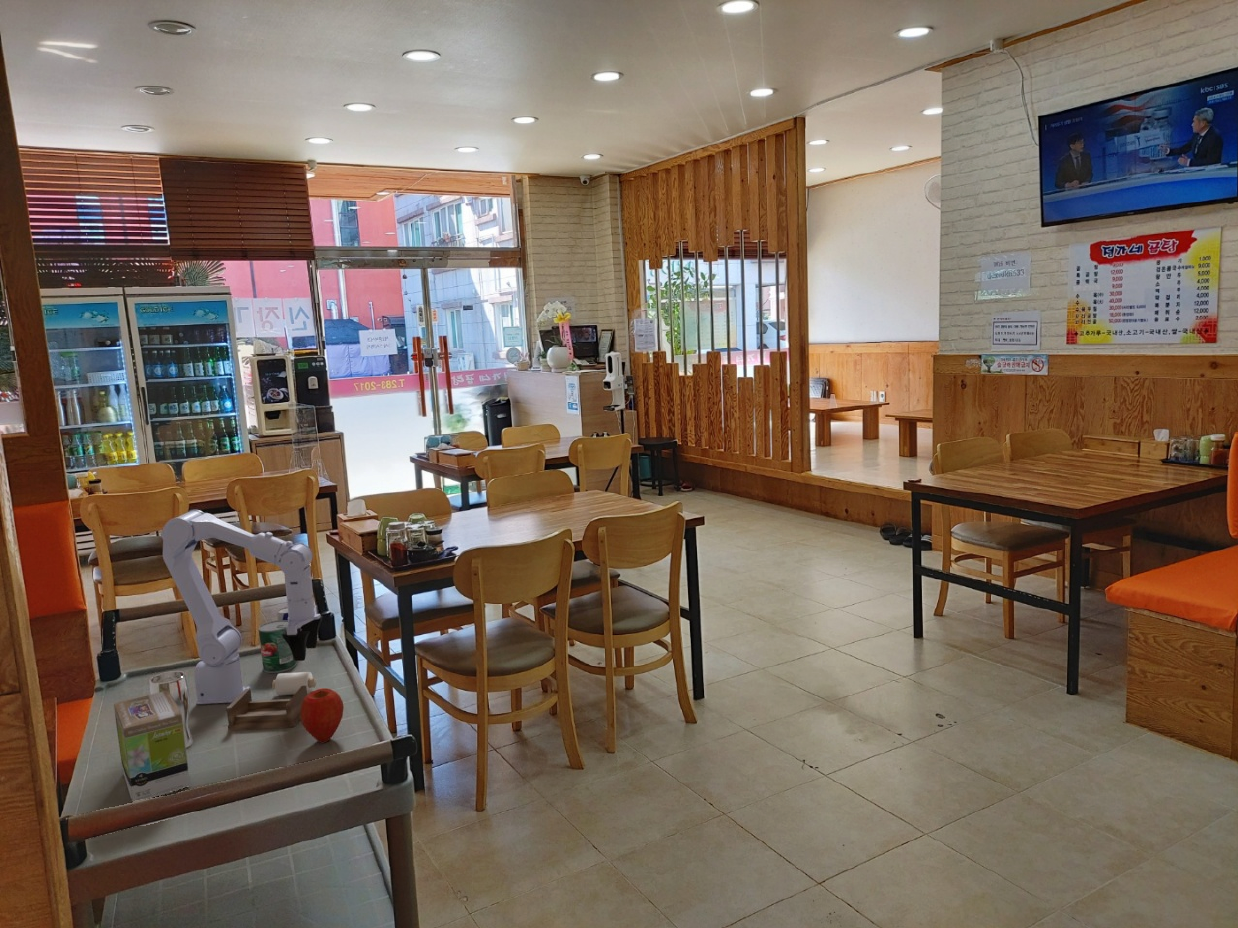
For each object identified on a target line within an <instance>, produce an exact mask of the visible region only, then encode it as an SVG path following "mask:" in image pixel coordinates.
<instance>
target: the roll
mask: <svg viewBox="0 0 1238 928" xmlns="http://www.w3.org/2000/svg"><path fill="white" fill-rule="evenodd" d="M271 685H272V686H271V688H272V690H275V694H276V695H277V696H294V695H295V693H296V692H297V691H298V690H299V689H300V687H301V686H306V688H307V695H308V694H310V693H311V692H312V691H313V688H315V687H316V685H317V679H316V677H313V674H312V672H311V671H302V672H301V671H300V672H284V673H283V672H279V673H277V675H276V678H275V679H273V680H272V684H271Z"/></svg>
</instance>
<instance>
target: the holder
mask: <svg viewBox="0 0 1238 928" xmlns="http://www.w3.org/2000/svg"><path fill="white" fill-rule="evenodd" d="M251 692H252V691H251V688H250V689H245V690H244V691H243V692H242V693H241V694H240V695H239V696H238V697H237V698H236V699H235V700H234V701H233V702H231V703H230V704H229V705H228V706H227V707H226V713H227V722H228V725H227V730H228V731H243V730H263V729H264V730H265V729H280V728H281V729H282V728H294V727H295V726H296V725H297V724H298V723H299V721H301V717H300V711H301V705H302V702H303V700H304V698H305V697H306V696H307V695H308V694H307V688H306V686H301V687H300V689H299V690H298V691H297V692H296V693H295V695H292V696H291V698H285V699H284V698H283V699H282V698H281V699H267V700H266V699H263V700H252V693H251Z"/></svg>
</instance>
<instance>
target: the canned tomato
mask: <svg viewBox="0 0 1238 928" xmlns="http://www.w3.org/2000/svg"><path fill="white" fill-rule="evenodd" d="M287 626H288V621H287V620H278V619H277V620H274V621H268V622H265V623H263V624H261V625H259V627H258V636H259V642H260V643H259V645H260V652H261V661H262V670H263V672H265V673H267V674H268V673H269V674H279V673H283V672H284V673H285V672H286V671H289V670H292V669H293V668H295V667H296V666H297V661H295V659H294V657H293V654H292V651H291V649H290V647H289V645H288V643H287V642H286V641H285V639H284V638H283V636H282V633H283V632H284V631H287V629H286V627H287Z"/></svg>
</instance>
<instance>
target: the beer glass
mask: <svg viewBox="0 0 1238 928" xmlns="http://www.w3.org/2000/svg"><path fill="white" fill-rule="evenodd" d="M187 681H188V680H187V677H186V673H185V671H182V670H171V671H170V670H169V671H165V672H160V673H158V674H155V675H154V676H152V677H150V679H149V695H151V694H155V693H159V692H164V691H169V692H170V694H171V695H172V697H173V699H174V701H175V703H176V705H177V707H178V708H179V710H180V712H181V715H182V721H183V729H184V738H185V746H186V749H189V748H190V747H191V746H192V745H193V743H194V740H193V739H194V738H193V736H192V733H191V730H190V725H189V723H190V722H189V718H190V717H189V715H190V691H189V686H188V682H187Z"/></svg>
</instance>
